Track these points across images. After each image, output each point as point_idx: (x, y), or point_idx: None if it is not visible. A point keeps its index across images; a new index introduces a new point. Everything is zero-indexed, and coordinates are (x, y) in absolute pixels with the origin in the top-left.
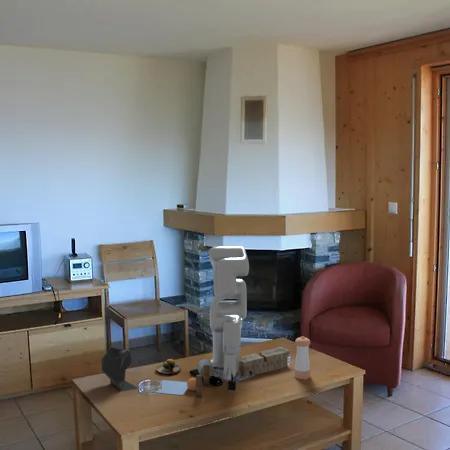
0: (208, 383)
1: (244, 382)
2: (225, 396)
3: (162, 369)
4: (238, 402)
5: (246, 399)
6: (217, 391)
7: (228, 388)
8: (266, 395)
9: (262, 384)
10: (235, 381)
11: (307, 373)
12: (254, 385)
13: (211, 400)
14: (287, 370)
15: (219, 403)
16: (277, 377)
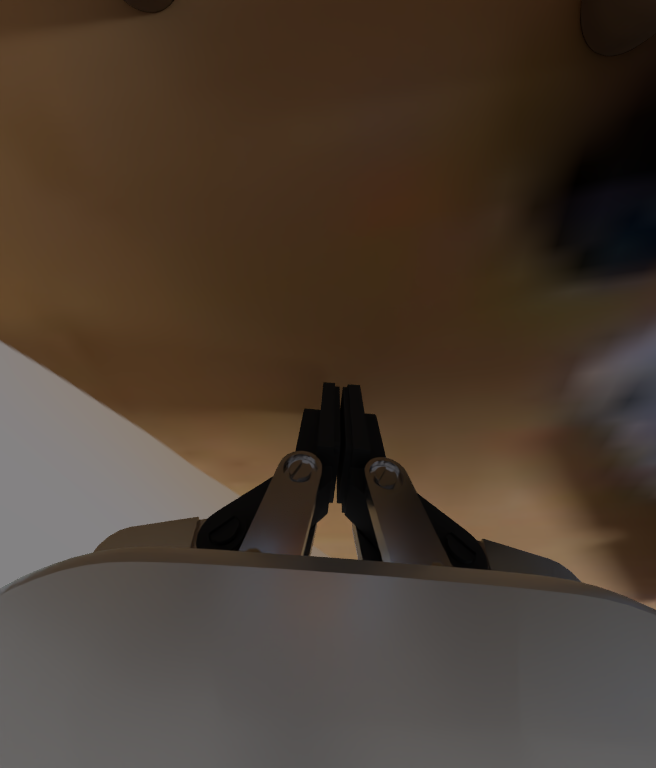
0: (627, 7)
1: (548, 453)
2: (260, 352)
3: None
4: (192, 443)
5: (254, 476)
6: (365, 252)
7: (322, 393)
8: (331, 540)
9: (482, 527)
10: (342, 504)
11: None
12: (474, 500)
13: (112, 222)
14: (642, 593)
15: (99, 321)
16: None
